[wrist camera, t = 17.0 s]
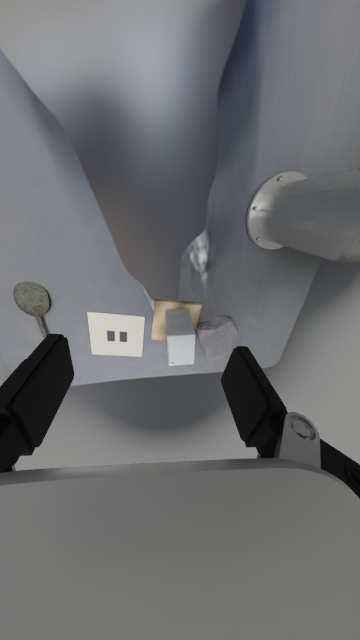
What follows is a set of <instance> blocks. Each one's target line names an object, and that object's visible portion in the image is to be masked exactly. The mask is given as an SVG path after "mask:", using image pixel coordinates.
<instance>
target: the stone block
mask: <svg viewBox="0 0 360 640" xmlns="http://www.w3.org/2000/svg"><path fill="white" fill-rule="evenodd" d="M196 330H197V334H198V337H199V339H200V342H201V345H202V347H203V350H204V352H205V355H206V358H207V360H209V361H210V360H215V359H218V358H222V357H225V356H228V355H230V354H231V353H232V351H233V349H234V348H236V347H237V346H238V344H237V330H236V328H235V326H234V324H233V323H232V321H231V319H230V318H229V317H227V316H225V315H224V316H218V317H215V318H213V319H210V320H209V321H207V322H203V323H201V324H199V325H197V327H196Z"/></svg>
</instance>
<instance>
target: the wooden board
mask: <svg viewBox="0 0 360 640" xmlns="http://www.w3.org/2000/svg"><path fill="white" fill-rule="evenodd" d="M201 308H202V304H201V303H191V302H182V301H172V300H162V299H155V305H154V315H153V325H152V335H151V339H156V340H167V337H166V317H165V310H170V309H188V310H189V313H190V317H191V320H192V324H193V327H194V330H195V331H196V327H197V323H198V320H199V316H200V312H201Z"/></svg>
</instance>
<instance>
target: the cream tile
mask: <svg viewBox="0 0 360 640" xmlns="http://www.w3.org/2000/svg"><path fill="white" fill-rule="evenodd" d="M87 314H88V323H89V331H90V340H91V349H92V354H97V355H117V356H137V357H142V349H143V336H144V323H145V316H134V315H122V314H111V313H100V312H88V311H87Z"/></svg>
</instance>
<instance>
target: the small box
mask: <svg viewBox="0 0 360 640" xmlns="http://www.w3.org/2000/svg"><path fill="white" fill-rule="evenodd" d="M165 317H166V337H167V352H168V366H175V365H188V364H194V363H195V337H196V334H195V330H194V327H193V324H192V320H191V317H190V313H189V310H188V309H170V310H165Z"/></svg>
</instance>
